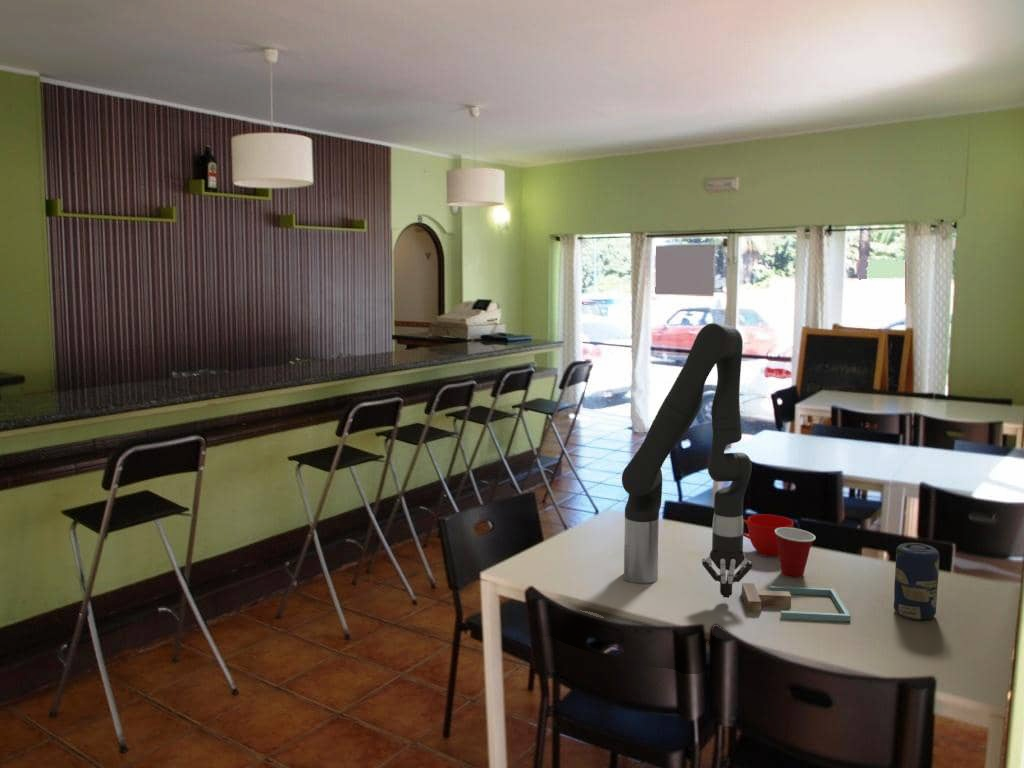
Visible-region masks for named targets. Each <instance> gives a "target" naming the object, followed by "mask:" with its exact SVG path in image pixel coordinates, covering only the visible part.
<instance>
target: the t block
mask: <svg viewBox="0 0 1024 768" xmlns="http://www.w3.org/2000/svg"><path fill="white" fill-rule="evenodd" d="M741 584H742V585H741V596H742V598H743V600H744V601H743V602H744V604H745V608H746V610H747V613H748V614H749V613H750V614H761V612H762V607H772V608H792V594H790V592H788V591H770V590H762V589H761V590H760V589H757V588H756V585H755V583H754V582H753V583H752V582H742V583H741Z"/></svg>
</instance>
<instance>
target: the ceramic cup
mask: <svg viewBox="0 0 1024 768" xmlns="http://www.w3.org/2000/svg"><path fill="white" fill-rule="evenodd" d="M743 524H745V525H746V526H747V530H748V534H747V533H745V532H744V531H743V537H744V538H747V539H748V540H749V541H750V543H751V545H752V547H753V548H754V550H756V552H757V554H759V555H761V554H762V555H761V556H763V555H765V556H764V557H769V556H772V558H773V557H775V556H776V557H779V551H778V543H777V537H776V534H775V529H777V528H783V527H787V528H794V521H793V520H792V519H790V518H789V517H785V516H782V515H779V514H766V513H764V514H763V513H762V514H761V513H760V514H753V515H751V516H749V517H748V518H747V520H746V519H744V518H743Z"/></svg>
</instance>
